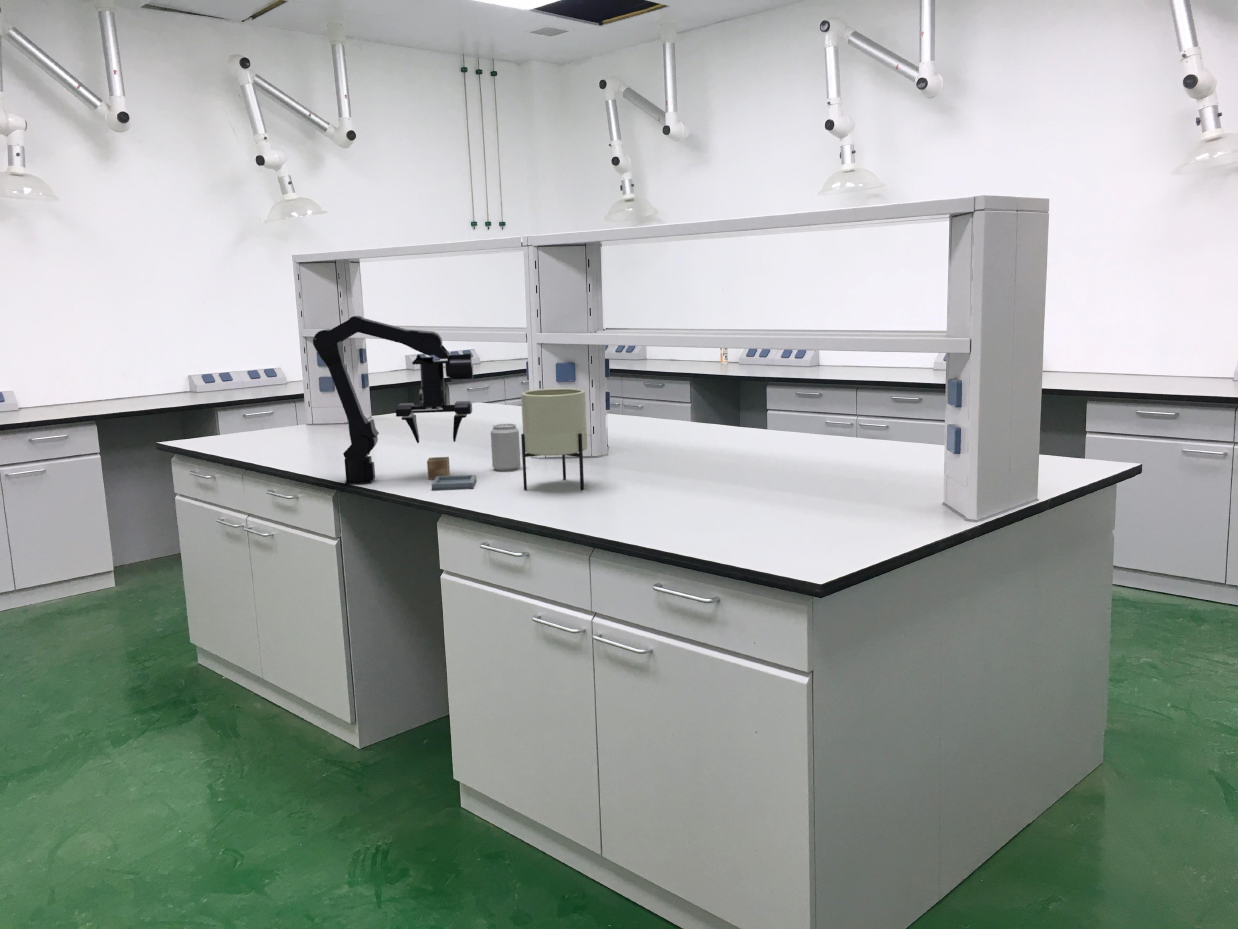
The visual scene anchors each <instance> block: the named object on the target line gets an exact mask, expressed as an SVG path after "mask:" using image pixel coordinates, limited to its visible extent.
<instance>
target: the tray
mask: <svg viewBox="0 0 1238 929" xmlns="http://www.w3.org/2000/svg"><path fill="white" fill-rule="evenodd" d="M476 483H477V474H461V475H459V474H457V475H450V476H436V477H435V479H434V480H433V481H432V482H431V491H447V490H451V491H452V490H468V489H469V490H471V489H473V490H474V488H475V485H476Z"/></svg>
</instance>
